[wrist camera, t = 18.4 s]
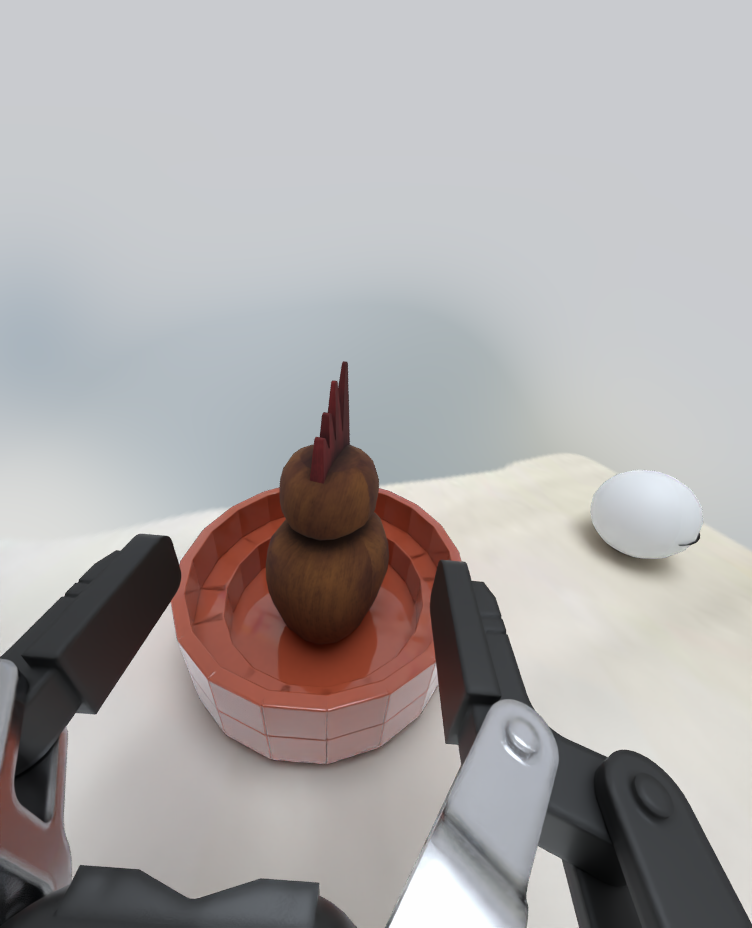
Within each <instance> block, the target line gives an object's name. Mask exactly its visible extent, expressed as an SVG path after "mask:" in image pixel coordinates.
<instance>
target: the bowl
mask: <svg viewBox="0 0 752 928" xmlns="http://www.w3.org/2000/svg"><path fill="white" fill-rule="evenodd" d="M279 489H280V487H279V488H275V489H272V490H268V491H264V492H262V493H260V494H257V495H255V496H253V497H251V498H249V499H247V500H245V501H243V502H241V503H239V504H237V505H235V506H233V507H231V508H230V509H228V510H227V511H226V512H225V513H223V514H222V515H221V516H220V517H218V518H217V519H216V520H214V521H213V522H212V523H211V524H209V525H208V526H207V527H206V528H204V530H202V532H201V533H200V535H199V536H198V537H197V539H196V540H195V541H194V543H193V544H192V546H191V547H190V548H189V550H188V551H187V552H186V554H185V555H184V557H183V558H182V560H181V561H180V565H179V566H180V569H181V582H180V586H179V588H178V591H177V593H176V594H175V596H174V597H173V599H172V600H171V607H172V613H173V619H174V625H175V631H176V636H177V641H178V644H179V646H180V649H181V652H182V654H183V657H184V660H185V663H186V665H187V668H188V670H189V673H190V676H191V679H192V681H193V684H194V687H195V689H196V692H197V695H198V697H199V699H200V700H201V702H202V703H203V704H204V706H205V707H206V708H207V710H208V711H209V713H210V714H211V715H212V717H213V718H214V720H215V721H216V722H217V724H218V725H219V726H220V728H221V729H222V731H223V732H224V733H226V735H227V736H229V737H230V738H232V739H234V740H236V741H238V742H239V743H241V744H243V745H245V746H247V747H249V748H250V749H252V750H254V751H256V752H258V753H259V754H261V755H263V756H265V757H267V758H269V759H271V758H272V760H281V761H293V762H305V763H318V764H326V763H327V764H329V763H333V762H336V761H339V760H342V759H345V758H348V757H351V756H355V755H358V754H361V753H364V752H367V751H370V750H373V749H377V748H379V747H381V746H382V745H384V744H385V743H386V742H387V741H389V740H390V739H391V738H392V737H394V736H395V735H396V734H397V733H399V732H400V731H401V730H402V729H403V728H405V727H406V726H407V725H408V724H410V723H411V722H412V721H413V720H415V719H416V718H417V717H418V716H419V715H420V714H421V713H422V711H423V709H424V708H425V706H426V704H427V703H428V701H429V699H430V698H431V696H432V694H433V692H434V691H435V689H436V687H437V686H438V675H437V667H436V659H435V650H434V642H433V633H432V625H431V616H430V597H431V591H432V587H433V583H434V579H435V575H436V571H437V566H438V563H439V561H440V560H450V561H461V558H460V554H459V551H458V550H457V548H456V547H455V545H454V543H453V542H452V540H451V539H450V537H449V536H448V534H447V533H446V531H445V530H444V528H443V527H442V526H441V524H440V523H438V522H437V521H436V520H435V519H434V518H432V517H431V516H430V515H429V514H428V513H426V512H425V511H424V510H423V509H422V508H421V507H419V506H418V505H417V504H415V503H413V502H411V501H409V500H407V499H405V498H403V497H401V496H399V495H397V494H395V493H393V492H390V491H388V490H384V489H380V488H379V492H378V497H377V502H376V507H375V511H374V512H375V513H376V514H377V515H378V516H379V517H380V519H381V521H382V524H383V527H384V530H385V534H386V537H387V540H388V547H389V562H388V569H387V572H386V575H385V577H384V580H383V582H382V585H381V587H380V589H379V592H378V594H377V597H376V599H375V601H374V602H373V604H372V606H371V608H370V609H369V611H368V612H367V614H366V615H365V617H364V618H363V620H362V622H361V624H360V625H359V626H358V627H357V628H356V629H355V630H354V631H353V632H352V633H351V634H350V635H348V636H347V637H345V638H343V639H341V640H340V641H338V642H336V643H331V644H324V645H318V644H315V643H311V642H308V641H305V640H304V639H302V638H301V637H300V636H298V635H297V634H296V633H294V632H293V631H292V630H290V629H289V628H288V627H287V626H286V624H285V622H284V620H283V619H282V617H281V615H280V614H279V612H278V610H277V609H276V607H275V606H274V604H273V601H272V599H271V596H270V594H269V591H268V586H267V581H266V558H267V550H268V546H269V543H270V540H271V537H272V535H273V534H274V533H275V532H276V531H277V529H278V528H279V527H280V526H281V524H282V523H283V522H284V521H285V519H286V518H285V516H284V514H283V513H282V509H281V505H280V492H279Z"/></svg>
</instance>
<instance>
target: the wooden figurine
mask: <svg viewBox="0 0 752 928" xmlns="http://www.w3.org/2000/svg"><path fill="white" fill-rule="evenodd" d="M349 440H350V439H349V394H348V363H347V362H343V363H342V367H341V374H340V381H339V387H338V383H337V381H332V382H331V389H330V398H329V407H328V413H325V412H324V413H323V415H322V421H321V431H320V437H316V438H315V440H314V445H310V446H307V447H304V448H301V449H300V450H298V451H297V452H295V453H294V454H293V455H292V457H291V458H290V460H289V461H288V462H287V464H286V465H285V467H284V468H283V471H282V475H281V479H280V489H279V492H280V505H281V509H282V513H283V514H284V516H285V518H286V519H285V521H284V522H283V523H282V524H281V526H280V527H279V528H278V529H277V531H276V532H275V533H274V534H273V535H272V537H271V540H270V543H269V546H268V550H267V558H266V581H267V586H268V591H269V594H270V596H271V599H272V601H273V604H274V606H275V607H276V609H277V610H278V612H279V614H280V615H281V617H282V619H283V620H284V622H285V624H286V626H287V627H288V628H289V629H290V630H292V631H293V632H294V633H296V634H297V635H298V636H300V637H301V638H302V639H304V640H305V641H308V642H311V643H315V644H318V645H324V644H331V643H336V642H338V641H340V640H341V639H343V638H345V637H347V636H348V635H350V634H351V633H352V632H353V631H354V630H355V629H356V628H357V627H358V626H359V625H360V624H361V622H362V620H363V618H364V617H365V615H366V614H367V612H368V611H369V609H370V608H371V606H372V604H373V602H374V601H375V599H376V597H377V594H378V592H379V589H380V587H381V585H382V582H383V580H384V577H385V575H386V572H387V569H388V562H389V547H388V540H387V537H386V534H385V530H384V527H383V524H382V521H381V519H380V517H379V516H378V515H377V514H376V513H375V512H374V511H375V507H376V502H377V497H378V492H379V479H378V475H377V472H376V468H375V465H374V463H373V460H371V458H370V457H369V456H368V455H367V454H366V453H365V452H363V451H362V450H361V449H359V448H356V447H354V446H351V445H350V443H349V442H350V441H349Z"/></svg>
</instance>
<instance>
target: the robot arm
mask: <svg viewBox="0 0 752 928" xmlns="http://www.w3.org/2000/svg"><path fill="white" fill-rule="evenodd" d="M180 582H181V569H180V566H179V563H178V559H177V556H176V553H175V550H174V546H173V543H172V540H171V538H170V537H168V536H162V535H150V534H138V535H136V536H135V537H134V538H133V539H132V540H131V541H130V542H129V543H128V544H127V545H126V546H125V547H124V548H123V549H122V550H121V551H117V550H116V551H114V552H113V553H111V554H110V555H108V556H106V557H105V558H103V559H102V560H100V561H98V562H97V563H95V564H94V565H93V566H92V567H91V568H90V569H89V570H88V571H87V572H86V573H85V574H84V575H83V576H82V577H81V578H80V579H79V582H78V583H75V584H74V585H73V586H72V587H71V588H70V589H69V590H68V591H67V592H66V593H65V596H64V597H61V598H60V599H59V600H58V601H57V602H56V603H55V604H54V605H53V606H52V607H51V608H50V609H49V610H48V611H47V612H46V613H45V614H44V615H43V616H42V617H41V618H40V619H39V620H38V621H37V622H36V623H35V624H34V625H33V626H32V627H31V628H30V629H29V630H28V631H27V632H26V633H25V634H24V635H23V636H22V637H21V638H20V639H19V640H18V641H17V642H16V643H15V644H14V645H13V646H12V647H11V648H10V649H9V650H8V651H6V652H5V653H4V654H3V655H2V656H1V657H0V928H357V927H356V926H355V925H354V924H353V922H352V921H351V920H350V919H349V918H348V917H347V915H346V914H345V913H344V912H343V911H341V910H340V909H339V908H338V907H337V906H335V905H334V904H333V903H332V902H330V901H328V900H326V899H325V898H323V897H321V896H319V883H314V882H301V881H287V880H274V879H258V880H255V881H251V882H248V883H245V884H242V885H239V886H236V887H233V888H229V889H226V890H223V891H220V892H217V893H214V894H211V895H208V896H204V897H201V898H197V899H189V898H187V897H185V896H183V895H182V894H180V893H178V892H176V891H175V890H173V889H171V888H170V887H168V886H166V885H165V884H163V883H161V882H160V881H158V880H156V879H154V878H153V877H151V876H149V875H148V874H146V873H144V872H143V871H141V870H139V869H125V868H112V867H99V866H85V865H80V867H79V869H78V871H77V872H76V874H75V876H74V878H73V880H72V860H71V852H70V847H69V843H68V840H67V838H66V835H65V830H64V800H65V781H66V763H67V745H68V730H67V727H66V726H67V724H68V723H69V721H70V720H71V719H72V717H73V716H74V714H75V713H86V714H97V712H98V711H99V709H100V707H101V706H102V704H103V703H104V701H105V700H106V698H107V697H108V695H109V694H110V692H111V691H112V689H113V688H114V686H115V685H116V683H117V682H118V680H119V679H120V677H121V676H122V674H123V673H124V671H125V670H126V668H127V667H128V665H129V664H130V662H131V661H132V659H133V658H134V656H135V655H136V653H137V652H138V650H139V649H140V647H141V646H142V644H143V643H144V641H145V640H146V638H147V637H148V635H149V633H150V632H151V630H152V629H153V627H154V626H155V624H156V623H157V621H158V620H159V618H160V617H161V615H162V614H163V612H164V611H165V609H166V608H167V606H168V605H169V603H170V602H171V600H172V599H173V597H174V596H175V594H176V593H177V591H178V588H179V586H180ZM430 616H431V625H432V633H433V642H434V650H435V659H436V667H437V675H438V684H439V692H440V701H441V709H442V717H443V726H444V734H445V743H446V744H456V745H459V752H460V759H461V767H460V769H459V771H458V773H457V775H456V777H455V779H454V782H453V784H452V786H451V788H450V790H449V792H448V794H447V797H446V799H445V801H444V803H443V805H442V807H441V809H440V812H439V814H438V816H437V818H436V820H435V822H434V824H433V827H432V829H431V831H430V833H429V835H428V837H427V839H426V842H425V844H424V846H423V848H422V850H421V852H420V854H419V856H418V859H417V861H416V863H415V865H414V867H413V869H412V871H411V873H410V875H409V877H408V879H407V881H406V884H405V886H404V888H403V890H402V892H401V894H400V896H399V899H398V901H397V903H396V905H395V907H394V909H393V911H392V914H391V916H390V918H389V920H388V922H387V924H386V926H385V928H526V927H527V920H528V904H527V900H526V892H527V886H528V881H529V877H530V873H531V869H532V865H533V861H534V857H535V854H536V850H537V846H539V847H541V848H543V849H545V850H546V851H548V852H550V853H552V854H554V855H556V856H557V857H559V858H561V859H562V862H563V866H564V870H565V874H566V878H567V881H568V885H569V889H570V893H571V897H572V901H573V905H574V909H575V913H576V917H577V921H578V925H579V928H752V924H751V922H750V920H749V918H748V916H747V914H746V912H745V910H744V908H743V906H742V904H741V902H740V901H739V899H738V897H737V895H736V893H735V891H734V889H733V887H732V885H731V883H730V881H729V879H728V878H727V876H726V874H725V872H724V870H723V868H722V866H721V864H720V862H719V860H718V858H717V856H716V854H715V853H714V851H713V849H712V847H711V845H710V843H709V841H708V839H707V837H706V835H705V833H704V831H703V829H702V828H701V826H700V824H699V822H698V820H697V818H696V816H695V814H694V812H693V810H692V808H691V806H690V805H689V803H688V801H687V799H686V798H685V796H684V794H683V793H682V791H681V790H680V788H679V787H678V786H677V784H676V783H675V782H674V781H673V780H672V778H671V777H670V776H669V775H668V774H667V773H666V772H665V771H664V770H663V769H662V768H660V767H659V766H658V765H657V764H656V763H654V762H653V761H651V760H650V759H648V758H647V757H645V756H643V755H641V754H639V753H637V752H634V751H630V750H618V751H616V752H614V753H612V754H611V755H610V756H609V757H606V756H604V755H601V754H599V753H597V752H595V751H592V750H590V749H588V748H586V747H584V746H581V745H579V744H577V743H575V742H572V741H570V740H568V739H566V738H564V737H562V736H561V735H559V734H558V733H556V732H555V731H554V730H552V729H551V728H550V727H549V726H548V725H547V723H546V722H545V721H544V720H543V718H542V717H541V716H540V715H539V714H538V713H537V712H536V711H535V710H534V708H533V706H532V705H531V703H530V701H529V698H528V696H527V693H526V690H525V687H524V684H523V681H522V678H521V675H520V672H519V669H518V666H517V662H516V659H515V656H514V653H513V650H512V647H511V644H510V641H509V638H508V635H506V629H505V625H504V622H503V619H501V613H500V610H499V607H498V604H497V601H496V598H495V596H494V595H493V594H492V593H491V591H490V590H489V589H488V587H487V586H486V585H485V583H484V582H478V581H471V577H470V573H469V570H468V566H467V564H466V562H462V561H450V560H440V561H439V563H438V566H437V571H436V575H435V579H434V583H433V587H432V591H431V597H430Z"/></svg>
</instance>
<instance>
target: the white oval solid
mask: <svg viewBox="0 0 752 928" xmlns="http://www.w3.org/2000/svg"><path fill="white" fill-rule="evenodd" d="M590 512H591V518H592V523H593V525H594V527H595V529H596V530H597V532H598V533H599V535H600V536H601V538H602V539H603V540H604V541H605V542H606V543H607V544H609V545H610V546H611V547H613V548H614V549H616V550H618V551H620V552H622V553H624V554H627V555H630V556H632V557H637V558H651V559H656V558H666V557H669V556H671V555H674V554H677V553H680V552H682V551H684V550H686V549H687V548H688V547H689V546H690V545H692V544H695V543H696V542H698V540H699V539H700V533H699V532H700V529H701V527H702V525H703V511H702V508H701V505H700V503H699V501H698V499H697V498H696V497H695V495H694V493H693V491H692V490H691V489H690V488H689V487H687V486H686V485H685V484H683V483H682V482H680V481H679V480H677V479H676V478H674V477H672V476H670V475H667V474H665V473H661V472H657V471H649V470H633V471H629V472H625V473H621V474H617V475H615V476H613V477H612V478H610V479H608V480H607V481H605V482H604V483H603V484H602V485H601V486H600V487H599V489H598V490H597V491H596V493H595V494H594V495H593V499H592V503H591V511H590Z"/></svg>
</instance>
